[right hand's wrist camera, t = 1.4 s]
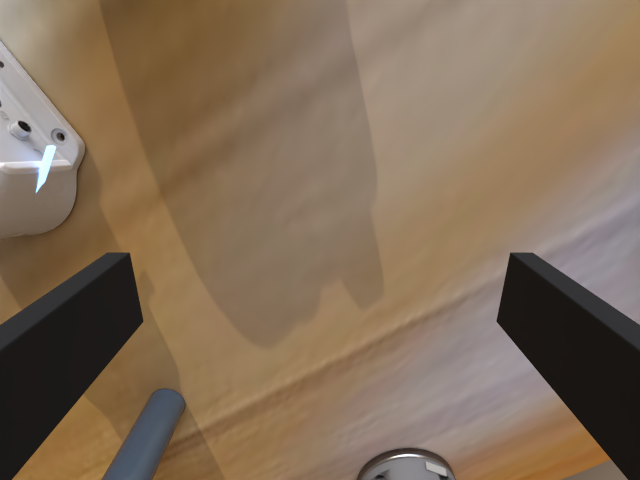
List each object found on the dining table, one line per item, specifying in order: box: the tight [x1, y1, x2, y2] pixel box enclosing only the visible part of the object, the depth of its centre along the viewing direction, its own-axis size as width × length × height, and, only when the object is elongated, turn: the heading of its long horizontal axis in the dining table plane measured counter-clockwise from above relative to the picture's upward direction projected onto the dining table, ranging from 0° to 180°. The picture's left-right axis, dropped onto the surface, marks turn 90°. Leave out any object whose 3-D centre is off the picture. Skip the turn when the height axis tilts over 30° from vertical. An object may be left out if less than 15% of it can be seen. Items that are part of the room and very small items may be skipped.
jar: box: [101, 389, 185, 480], centre depth 43 cm, size 5×5×15 cm
